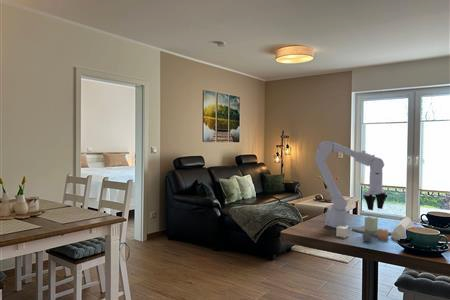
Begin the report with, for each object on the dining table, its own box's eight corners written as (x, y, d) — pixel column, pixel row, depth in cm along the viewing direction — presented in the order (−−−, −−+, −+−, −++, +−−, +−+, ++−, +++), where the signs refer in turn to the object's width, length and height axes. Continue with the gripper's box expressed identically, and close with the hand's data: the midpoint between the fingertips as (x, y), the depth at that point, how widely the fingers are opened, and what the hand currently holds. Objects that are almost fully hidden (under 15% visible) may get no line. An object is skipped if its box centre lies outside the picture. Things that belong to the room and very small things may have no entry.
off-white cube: (336, 236, 147) (336, 227, 147) (339, 234, 150) (340, 225, 150) (344, 237, 145) (345, 228, 145) (348, 236, 148) (348, 227, 147)
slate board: (351, 230, 157) (352, 228, 157) (364, 227, 162) (365, 225, 162) (378, 237, 145) (378, 235, 145) (391, 234, 150) (391, 232, 150)
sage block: (364, 229, 155) (364, 217, 155) (369, 228, 157) (370, 216, 157) (372, 231, 151) (372, 219, 151) (377, 230, 153) (377, 218, 153)
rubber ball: (360, 241, 140) (360, 232, 140) (365, 239, 142) (365, 231, 142) (367, 243, 137) (368, 234, 137) (373, 242, 138) (373, 233, 138)
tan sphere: (375, 238, 144) (376, 229, 144) (381, 237, 146) (381, 228, 146) (384, 240, 141) (384, 231, 141) (389, 239, 143) (390, 230, 143)
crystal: (395, 220, 163) (385, 230, 144) (409, 215, 159) (401, 224, 140) (403, 234, 161) (394, 246, 142) (417, 229, 157) (410, 240, 138)
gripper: (374, 183, 152) (373, 212, 153) (392, 181, 160) (391, 209, 160) (361, 181, 158) (360, 209, 159) (379, 180, 166) (378, 206, 166)
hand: (375, 209), depth 160 cm, fingers open, 7 cm apart
